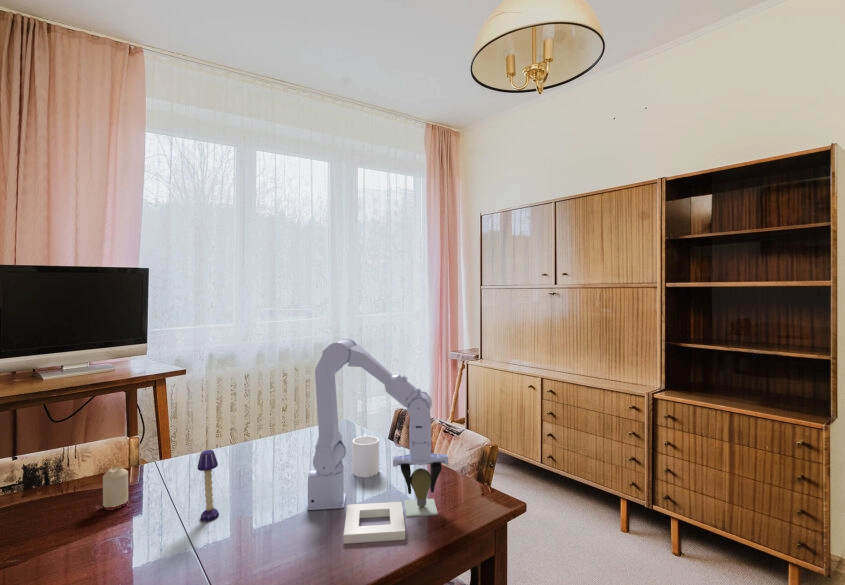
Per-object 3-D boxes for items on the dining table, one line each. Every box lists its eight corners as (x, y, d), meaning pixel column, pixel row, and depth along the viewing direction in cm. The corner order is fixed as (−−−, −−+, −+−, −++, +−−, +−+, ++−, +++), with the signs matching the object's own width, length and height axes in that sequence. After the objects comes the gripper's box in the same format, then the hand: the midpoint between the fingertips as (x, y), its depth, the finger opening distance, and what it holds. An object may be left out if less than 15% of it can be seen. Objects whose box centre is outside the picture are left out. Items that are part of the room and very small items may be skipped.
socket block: (343, 543, 98) (343, 534, 98) (347, 512, 112) (347, 504, 112) (405, 539, 100) (405, 530, 100) (401, 509, 114) (401, 501, 114)
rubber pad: (406, 516, 110) (406, 515, 110) (404, 501, 118) (404, 500, 118) (437, 515, 111) (437, 513, 111) (433, 500, 119) (433, 498, 119)
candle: (132, 503, 118) (132, 466, 118) (111, 512, 113) (110, 474, 113) (120, 499, 120) (120, 463, 120) (98, 508, 115) (98, 470, 115)
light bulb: (430, 513, 110) (428, 473, 111) (408, 511, 112) (407, 472, 112) (434, 502, 116) (433, 465, 116) (414, 501, 117) (412, 464, 117)
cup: (376, 461, 146) (376, 431, 146) (380, 476, 134) (380, 443, 134) (351, 463, 144) (351, 433, 144) (353, 478, 133) (353, 445, 133)
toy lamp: (197, 523, 107) (197, 456, 107) (197, 515, 111) (197, 450, 111) (219, 518, 109) (218, 452, 109) (218, 510, 114) (218, 446, 114)
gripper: (393, 446, 109) (393, 500, 109) (450, 444, 111) (450, 497, 111) (392, 437, 116) (392, 487, 116) (445, 435, 118) (446, 484, 118)
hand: (420, 491), depth 114 cm, fingers closed on light bulb, 5 cm apart
